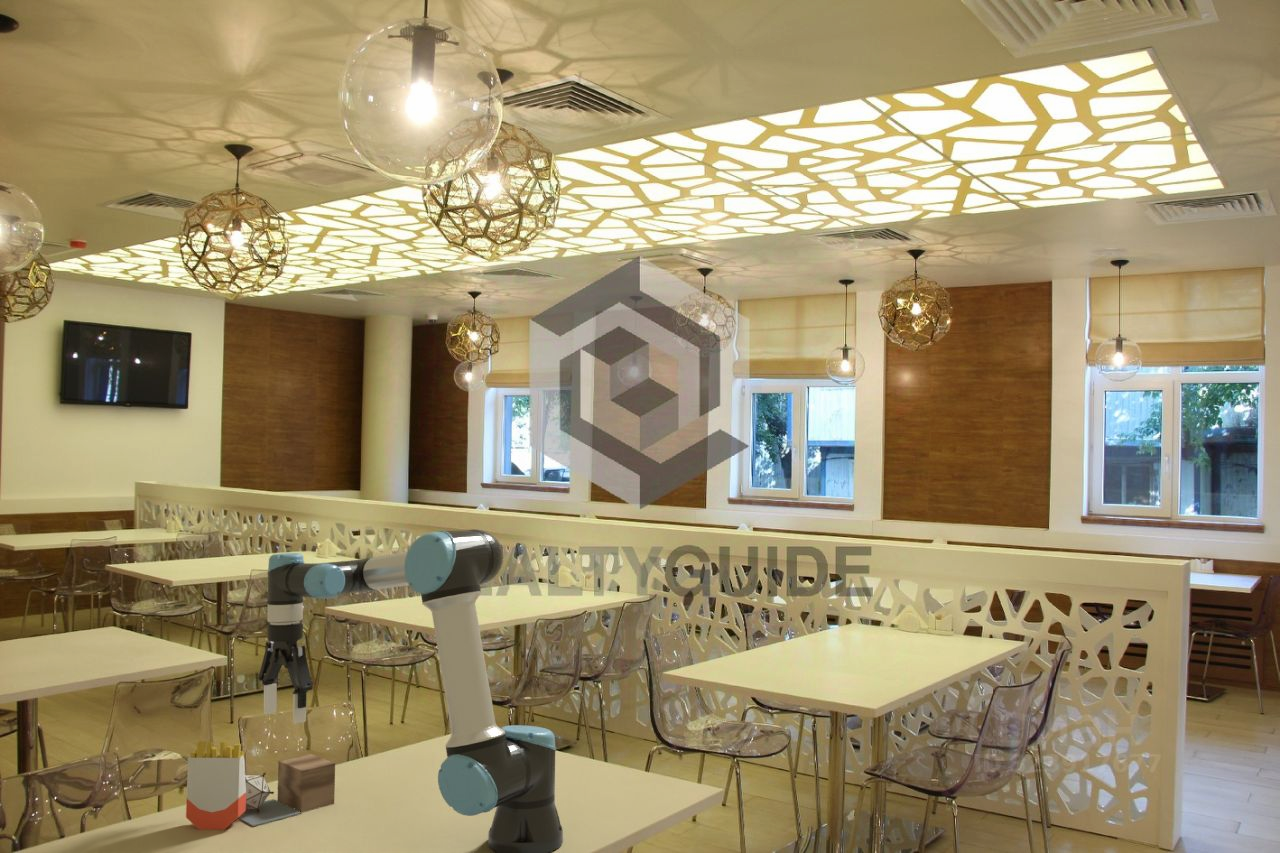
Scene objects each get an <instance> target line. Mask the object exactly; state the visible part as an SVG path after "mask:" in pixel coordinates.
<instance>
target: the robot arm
mask: <svg viewBox="0 0 1280 853" xmlns="http://www.w3.org/2000/svg"><path fill="white" fill-rule="evenodd" d="M503 563H504V551H503V547H502V546H501V543H500V542H499V540H498V539H497V538H496V536H494V534H492V533H490V532H488V531H485V530H482V529H475V528H474V529H462V530H439V531H435V532H428V533H424V534H422V535H420V536H419V537H417V538H416V539H415V540H414V541H413V542H412V543H411V545H410V548H409V549H408V550H407V551H404V552H398V553H392V554H390V553H389V554H386V555H381V556H380V555H379V556H373V557H369V558H368V557H367V558H361V559H353V560H342V561H332V562H318V563H317V562H316V563H311V562H310V563H305V560H304V555H303V554H302V553H297V552H285V553H284V552H283V553H275V554H272V555H270V556H269V558H268V568H267V622H268V623H269V624H268V625H267V640H268V641H266V642H265V648H264V649H265V650H264V653H263V654H264V655H263V658H262V662H261V665H260V666H261V667H260V670H259V675H258V681H260V682H261V683H262V685H263V715H265V716H266V715H271V714H277V704H278V702H277V701H278V700H277V697H278V696H277V695H278V693H277V691H278V689H277V688H278V684H277V683H278V680H277V678H278V675H279V674H280V671H281V669H282V667H284V668H285V669H287V672H288V676H289V678H290V681H291V682H292V686H293V688H294V690H293V691H292V699H293V700H292V724H293V725H295V724H301V723H305V722H307V692H309V691H312V690H313V688H314V687H313V686H314V685H313V682H312V679H311V678H312V677H311V673H310V670H309V664H308V660H307V657H306V656H307V655H306V651H307V650H306V646H305V645H301V646H300V645H299V646H298V641H299V640H302V639H303V637H304V623H303V622H301V621H302V620H303V618H304V617H303V616H304V615H303V614H304V609H305V606H304V598H308V599H309V598H312V599H317V600H323V599H325V600H326V599H327V600H328V599H333V598H336V597H338V596H342V595H348V594H357V593H367V592H368V593H369V592H374V591H377V590H378V591H379V590H384V589H392V588H398V587H407V586H410V587H411V589H412V590H413V591H414V592H416V593H419V594H420V596H421V602H422V605H423V606H424V607H426V608H427V609H429V611H431V616H432V622H433V628H434V633H435V639H436V646H437V652H438V657H439V664H440V670H441V678H442V682H443V689H444V690H443V691H444V696H445V701H446V709H447V713H448V720H449V727H450V731H451V732H450V734H451V735H450V737H449V739H448V740H447V742H446V743H445V746H444V747H445V751H446V759H444V760H443V762H442V763H441V764H440V769H439V770H438V773H437V782H438V783H437V784H438V788H439V791H440V794H441V796H442V799H443V800H444V801H445V803H446V804H447V805H448V806H449V808H450V807H451V808H452V809H453V811H455V812H456V813H457V814H458V815H459V814H460V815H461V816H465V817H466V816H467V817H472V816H477V815H480V814H483V813H488V812H490V811H491V810H493V809H495V808H496V809H495V812H494V815H493V819H492V824H491V827H489V830H488V834H487V837H488V838H487V846H488V848H489V849H490V850H491V851H493V852H495V853H551V852H553V850H554V851H555V849H556V850H557V849H559V848H560V847H561V846H562V845H561V844H563V842H564V837H563V836H564V831H563V830H564V829H563V827H562V824H561V821H560V816H559V812H558V810H557V807H556V802H555V798H556V796H555V795H556V794H555V793H556V787H555V786H556V752H557V748H556V739H555V737H556V736H555V734H554V733H553V731H551V730H550V729H548V728H544V727H540V726H534V725H524V724H523V725H519V724H518V725H516V724H515V725H512V724H511V725H505V726H501V727H499V726H498V725H497V722H496V718H495V713H494V706H493V700H492V699H493V698H492V695H491V694H492V692H491V688H490V683H489V677H488V672H487V665H486V659H485V654H484V647H483V642H482V637H481V630H480V625H479V624H480V623H479V619H478V613H477V607H476V601H477V600H478V598H479V597H480V595H481V594H482V591H481V586H482V585H484V584H487V583H489V582H490V581H492V580H493V579H494V578H496V577H497V575H498V574H499V573H500V571H501V569H502V567H503V566H502V565H503ZM560 845H561V846H560Z"/></svg>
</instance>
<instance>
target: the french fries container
mask: <svg viewBox="0 0 1280 853" xmlns="http://www.w3.org/2000/svg"><path fill="white" fill-rule="evenodd" d="M213 743H214V741H210V740H209V741H208V742H207V740H199V741H197V743H196V744H197V745H196V749H195V751H192V752H191V753H190V755H189V756H188V757H187V776H186V780H187V781H186V805H185V806H186V807H185V810H186V812H185V818H186V819H187V820H188V821H190V823H191V824H192V825H193V826H195V828H196V829H198V830H226V829H227V828H228V827H230V825H231V824H232V823H234V822H235V821H236V820H238V819H237V818H238V817H239V816H240V815H241V814H243V813H244V812H245V811H246V781H245V775H246V765H245V764H246V763H245V762H246V761H245V750H244V751H243V750H242V743H235V744H233V745H232V746H230V745H229V746H227V741H226V740H225V741H224V740H223V741H221V742H220V744H219V746H220V748H219V750H218V747H215V746H213V745H214V744H213ZM218 751H219V754H218Z"/></svg>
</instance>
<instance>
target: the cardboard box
mask: <svg viewBox="0 0 1280 853" xmlns="http://www.w3.org/2000/svg"><path fill="white" fill-rule="evenodd" d="M277 763H278V767H277V769H278V770H277V801H279V802H281V803H283V804H286V805H288V806H290V807H292V808H295V810H296V809H297V811H299V812H300V811H301V813H304V812H303V811H305V812H307V811H311V809H312V810H315V808H316V809H320V808H323V807H327V806H330V805H329V804H331V805H334V804H335V791H336V790H335V787H336V786H335V785H336V784H335V783H336V763H335V762H334V761H331V760H328V759H325V758H323V757H320V756H318V755H315V754H313V753H309V754H307V753H306V754H303V755H300V756H294V757H291V758H285V759H281V760H278V761H277ZM326 805H327V806H326ZM319 807H320V808H319Z"/></svg>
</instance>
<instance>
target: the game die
mask: <svg viewBox="0 0 1280 853" xmlns="http://www.w3.org/2000/svg"><path fill="white" fill-rule="evenodd" d="M266 774H267V772H266V771H265V772H263V774H245V781H246V809H257V812H258V813H259V807H260V806H261V805H262V803H263V802H264V801H267V798H268V797H269V796H270V794H271V795H274V794H275V792H274V791H271V790H270V787H269V785H268V783H267V780H266V777H265V776H266Z"/></svg>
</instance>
